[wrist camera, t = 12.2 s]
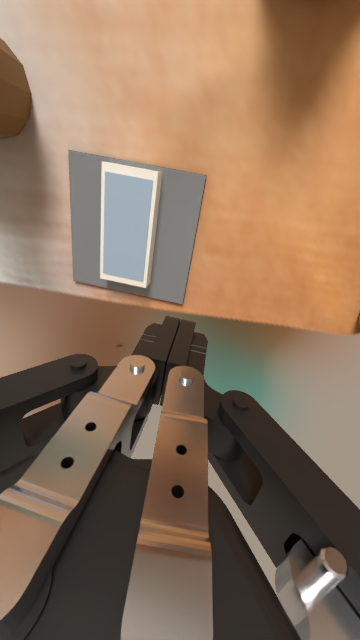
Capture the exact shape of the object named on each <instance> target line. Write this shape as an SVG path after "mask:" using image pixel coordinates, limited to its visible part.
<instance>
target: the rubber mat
mask: <svg viewBox="0 0 360 640" xmlns="http://www.w3.org/2000/svg"><path fill="white" fill-rule="evenodd" d="M68 151H69V177H70V203H71V230H72V256H73V281H77V282H82V283H86V284H91V285H95V286H100V287H105V288H109V289H114V290H118V291H123V292H128V293H132V294H137V295H142V296H146V297H151V298H155V299H160V300H165V301H169V302H174V303H178V304H183V300H184V295H185V289H186V284H187V279H188V273H189V268H190V262H191V257H192V251H193V246H194V240H195V235H196V230H197V224H198V219H199V213H200V208H201V202H202V197H203V191H204V186H205V181H206V175H201V174H196V173H191V172H185V171H180V170H174V169H169V168H163V167H158V166H153V165H147V164H142V163H136V162H131V161H125V160H120V159H115V158H109V157H104V156H98V155H93V154H87V153H82V152H77V151H71V150H68ZM102 161H103V162H110V163H116V164H121V165H126V166H132V167H137V168H143V169H148V170H153V171H159V172H162V181H161V190H160V199H159V208H158V217H157V226H156V235H155V244H154V253H153V262H152V271H151V280H150V283H149V285H148V286H147V287H146V288H143V287H139V286H134V285H129V284H125V283H120V282H115V281H111V280H106V279H101V278H100V244H101V170H102Z"/></svg>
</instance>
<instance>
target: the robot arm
mask: <svg viewBox="0 0 360 640" xmlns="http://www.w3.org/2000/svg"><path fill="white" fill-rule="evenodd" d="M358 323H359V328H360V315H359V321H358ZM195 324H196V322H192V321H187V320H183V319H182V320H181V322H180V319H178V318H174V317H169V316H166V317H165V319H164V322H163V324H162V325H160V324H155V323H153V324H151V325H150V326H148V327H147V328H146V330H145V331H144V333H143V335H142V337H141V339H140V340H139V342H138V344H137V346H136V348H135V350H134V351H133V353H132V355H131V356H128V357H125V358H124V359H122V360H121V362H120V363H119V364H118V365H117V366H98V363H97V361H96V359H95V358H93V357H92V356H89V355H86V354H75V355H70V356H67V357H64V358H61V359H58V360H55V361H52V362H48V363H45V364H42V365H39V366H36V367H33V368H30V369H27V370H24V371H20V372H17V373H14V374H11V375H8V376H5V377H2V378H0V640H360V510H359V509H358V507H357V506H356V505H355V504H354V503H353V502H352V501H351V500H350V499H349V498H348V497H347V496H346V495H345V494H344V493H343V492H342V491H341V490H340V489H339V488H338V487H337V485H336V484H335V483H334V482H333V481H332V480H331V479H330V478H329V477H328V476H327V475H326V474H325V473H324V472H323V471H322V470H321V469H320V468H319V467H318V466H317V464H316V463H315V462H314V461H313V460H312V459H311V458H310V457H309V456H308V455H307V454H306V453H305V452H304V451H303V450H302V449H301V448H300V447H299V445H298V444H296V442H295V441H294V440H293V439H292V438H291V437H290V436H289V435H288V434H287V433H286V432H285V431H284V430H283V429H282V428H281V427H280V426H279V424H277V422H276V421H275V420H274V419H273V418H272V417H271V416H270V415H269V414H268V413H267V412H266V411H265V410H264V409H263V408H262V407H261V406H260V405H259V404H258V402H257V401H255V400H254V398H253V397H251V396H250V395H248V394H246V393H244V392H241V391H236V390H233V391H228V392H226V393H224V394H220V393H219V392H217V391H215V390H213V389H212V388H210V387H209V386H208V385H207V383H206V382H205V380H204V377H203V374H204V366H205V358H206V350H207V343H208V341H207V339H206V337H205V335H204V334H200V333H196V332H194V328H195ZM161 395H162V396H161ZM60 398H61V403H59V404H56V405H54V406H52V407H49V408H47V409H45V410H43V411H40V412H38V413H35V414H33V415H31V416H28V417H26V418H23V416H24V415H25V414H26V413H28V412H29V411H31V410H33V409H35V408H38V407H41V406H43V405H45V404H48V403H50V402H53V401H55V400H57V399H60ZM160 398H161V401H160ZM159 401H160V405H161V406H162V412H161V416H160V422H159V427H158V432H157V438H156V443H155V449H154V454H153V459H131V456H132V453H133V451H134V449H135V446H136V444H137V442H138V440H139V437H140V435H141V433H142V431H143V428H144V426H145V424H146V422H147V419H148V414H149V412H150V410H151V407H152V404H157V405H158V404H159ZM22 418H23V419H22ZM208 460H209V462H210V463H211V465H212V466H213V468H214V469H215V471H216V473H217V474H218V476H219V478H220V479H221V481H222V482H223V484H224V485H225V487H226V489H227V490H228V492H229V493H230V495H231V497H232V498H233V500H234V501H235V503H236V504H237V506H238V508H239V509H240V511H241V512H242V514H243V516H244V517H245V519H246V520H247V522H248V524H249V525H250V527H251V528H252V530H253V531H254V533H255V535H256V536H257V538H258V539H259V541H260V542H261V544H262V546H263V547H264V549H265V551H266V552H267V554H268V555H269V557H270V558H271V560H272V562H273V563H274V565H275V566H276V568H277V569H276V573H275V586H276V592H277V595H278V597H277V595H276V594H275V592H274V590H273V588H272V586H271V585H270V583H269V581H268V580H267V578H266V576H265V574H264V572H263V571H262V569H261V567H260V565H259V563H258V562H257V560H256V558H255V556H254V554H253V553H252V551H251V549H250V547H249V546H248V544H247V542H246V540H245V539H244V537H243V535H242V533H241V531H240V530H239V528H238V526H237V524H236V522H235V521H234V519H233V517H232V515H231V513H230V512H229V510H228V508H227V507H226V505H225V504H224V503H223V501H222V500H221V498H220V497H219V496H218V495H217V494H216V493H215V492H214V491H213V490H212V489H211V488H210V487H209V486H208ZM278 598H279V599H278Z"/></svg>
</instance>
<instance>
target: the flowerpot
mask: <svg viewBox="0 0 360 640" xmlns="http://www.w3.org/2000/svg"><path fill="white" fill-rule="evenodd" d="M30 104H31V91H30V88H29V85H28V81H27V78H26V75H25V71H24V68H23V65H22V64H21V63H20V61H19V60H18V59H17V57H16V56H15V55H14V53H13V52H12V51H11V49H10V48H9V47H8V45H7V44H6V43H5V42H4V41H3V40H2V39H1V38H0V139H1V138H6V137H11V136H15V135H18V134H19V133H20V131H21V130H22V129H23V127H24V126H25V124H26V123H27V121H28V120H29V116H30Z"/></svg>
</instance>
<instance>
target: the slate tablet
mask: <svg viewBox="0 0 360 640" xmlns="http://www.w3.org/2000/svg"><path fill="white" fill-rule="evenodd" d="M161 181H162V172H159V171H153V170H148V169H143V168H137V167H132V166H126V165H121V164H116V163H110V162H103V161H102V170H101V244H100V278H101V279H106V280H111V281H115V282H120V283H125V284H129V285H134V286H139V287H143V288H146V287H147V286H148V285H149V283H150V280H151V271H152V262H153V253H154V244H155V235H156V226H157V217H158V208H159V199H160V190H161Z"/></svg>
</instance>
